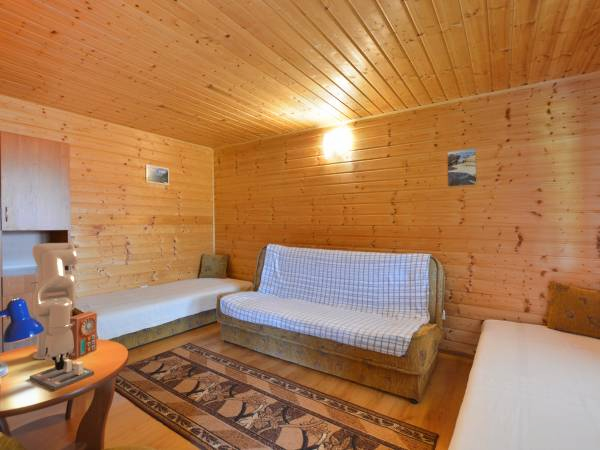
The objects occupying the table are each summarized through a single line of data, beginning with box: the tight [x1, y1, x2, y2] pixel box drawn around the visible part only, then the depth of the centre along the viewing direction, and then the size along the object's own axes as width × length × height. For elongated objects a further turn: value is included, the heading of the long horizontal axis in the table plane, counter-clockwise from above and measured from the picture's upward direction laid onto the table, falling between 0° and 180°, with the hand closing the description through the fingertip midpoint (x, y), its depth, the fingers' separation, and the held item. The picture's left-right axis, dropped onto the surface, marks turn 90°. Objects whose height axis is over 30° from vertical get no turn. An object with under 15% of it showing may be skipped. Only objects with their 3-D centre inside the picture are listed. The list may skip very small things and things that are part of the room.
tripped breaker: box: [63, 358, 73, 372], centre depth 146 cm, size 3×2×5 cm, turn 64°
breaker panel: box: [29, 363, 95, 391], centre depth 144 cm, size 21×16×2 cm
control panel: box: [68, 310, 98, 360], centre depth 169 cm, size 21×7×15 cm
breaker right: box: [74, 360, 84, 375], centre depth 143 cm, size 3×2×5 cm, turn 64°
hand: (59, 369), depth 143 cm, fingers closed
